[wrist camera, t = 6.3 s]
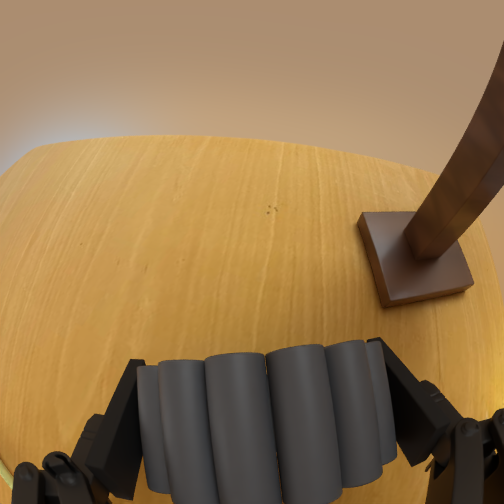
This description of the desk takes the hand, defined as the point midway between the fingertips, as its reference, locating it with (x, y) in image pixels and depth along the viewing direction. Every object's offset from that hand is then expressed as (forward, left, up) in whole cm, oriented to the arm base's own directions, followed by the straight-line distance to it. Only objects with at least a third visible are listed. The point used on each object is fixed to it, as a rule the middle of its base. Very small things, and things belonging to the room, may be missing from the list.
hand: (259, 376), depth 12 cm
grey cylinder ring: (-1, +2, -5) cm, 5 cm away
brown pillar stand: (-12, -10, -5) cm, 16 cm away
